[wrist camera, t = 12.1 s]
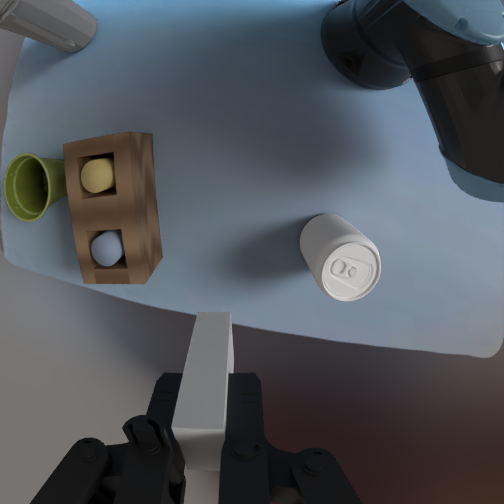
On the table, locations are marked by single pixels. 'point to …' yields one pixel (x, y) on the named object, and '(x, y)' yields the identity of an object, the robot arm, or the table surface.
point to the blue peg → (108, 247)
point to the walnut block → (115, 207)
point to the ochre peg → (98, 175)
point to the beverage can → (340, 257)
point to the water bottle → (49, 22)
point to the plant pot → (33, 185)
